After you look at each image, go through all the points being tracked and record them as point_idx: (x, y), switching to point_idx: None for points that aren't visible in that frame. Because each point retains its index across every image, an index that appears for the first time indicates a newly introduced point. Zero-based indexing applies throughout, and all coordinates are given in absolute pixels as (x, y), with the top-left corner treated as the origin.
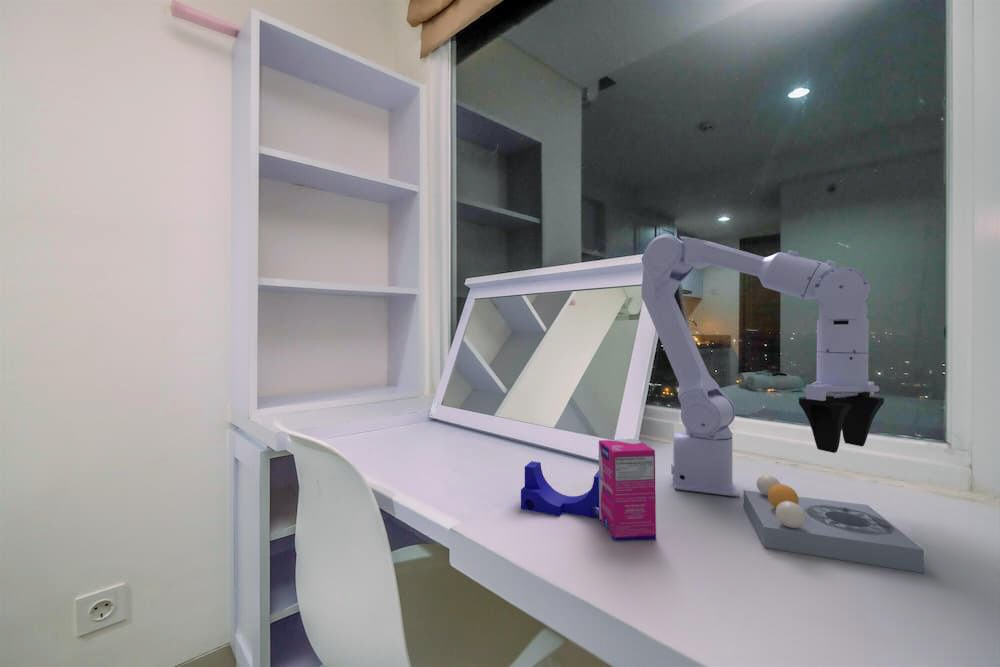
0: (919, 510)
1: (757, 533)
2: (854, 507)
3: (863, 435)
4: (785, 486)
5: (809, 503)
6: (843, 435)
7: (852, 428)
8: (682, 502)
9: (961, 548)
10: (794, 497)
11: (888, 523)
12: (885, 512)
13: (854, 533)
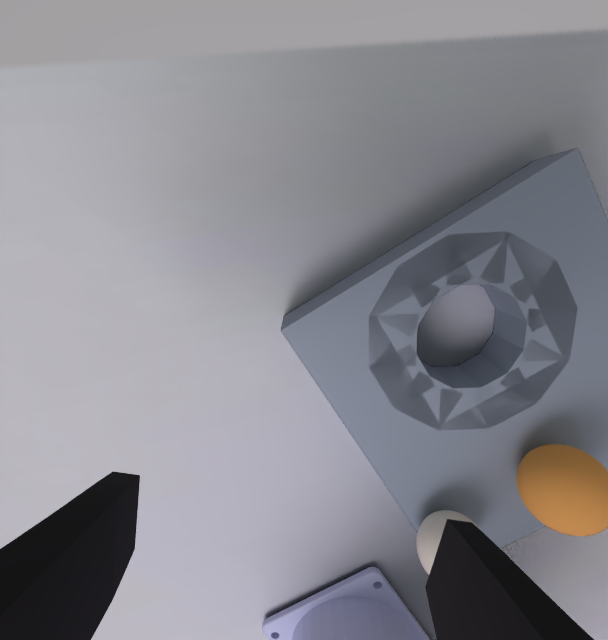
0: (19, 242)
1: None
2: (343, 349)
3: (96, 527)
4: (604, 510)
5: (415, 437)
6: (109, 602)
7: (66, 628)
8: None
9: (272, 115)
10: (596, 465)
11: (416, 254)
12: (139, 304)
13: (581, 298)
